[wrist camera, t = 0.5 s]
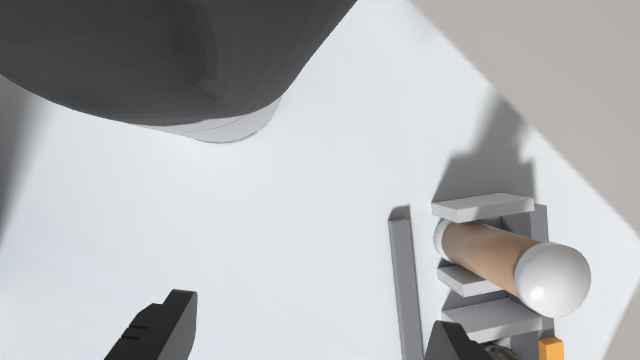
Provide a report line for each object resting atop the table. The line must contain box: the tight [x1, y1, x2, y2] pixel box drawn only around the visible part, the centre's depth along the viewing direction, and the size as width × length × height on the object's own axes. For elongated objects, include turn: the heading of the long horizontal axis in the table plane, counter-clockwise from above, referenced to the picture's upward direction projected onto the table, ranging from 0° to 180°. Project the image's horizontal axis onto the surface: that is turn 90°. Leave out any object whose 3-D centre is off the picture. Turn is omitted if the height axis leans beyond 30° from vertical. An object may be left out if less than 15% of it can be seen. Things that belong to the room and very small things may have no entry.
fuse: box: [434, 219, 591, 318], centre depth 26 cm, size 4×4×11 cm
